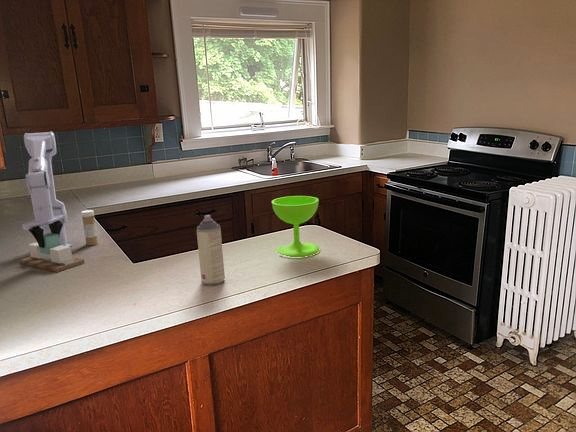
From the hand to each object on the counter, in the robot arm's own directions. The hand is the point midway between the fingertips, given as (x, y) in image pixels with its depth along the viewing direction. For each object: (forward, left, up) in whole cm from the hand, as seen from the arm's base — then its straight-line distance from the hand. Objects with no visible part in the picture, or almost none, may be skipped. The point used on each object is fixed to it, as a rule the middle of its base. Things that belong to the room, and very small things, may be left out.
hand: (49, 245), depth 161 cm
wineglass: (+72, +46, -7) cm, 86 cm away
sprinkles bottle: (-7, +21, -7) cm, 23 cm away
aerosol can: (+64, +11, -7) cm, 65 cm away
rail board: (0, 0, -6) cm, 6 cm away
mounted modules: (0, 0, -5) cm, 5 cm away
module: (0, 0, -2) cm, 2 cm away
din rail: (0, 0, -5) cm, 5 cm away
